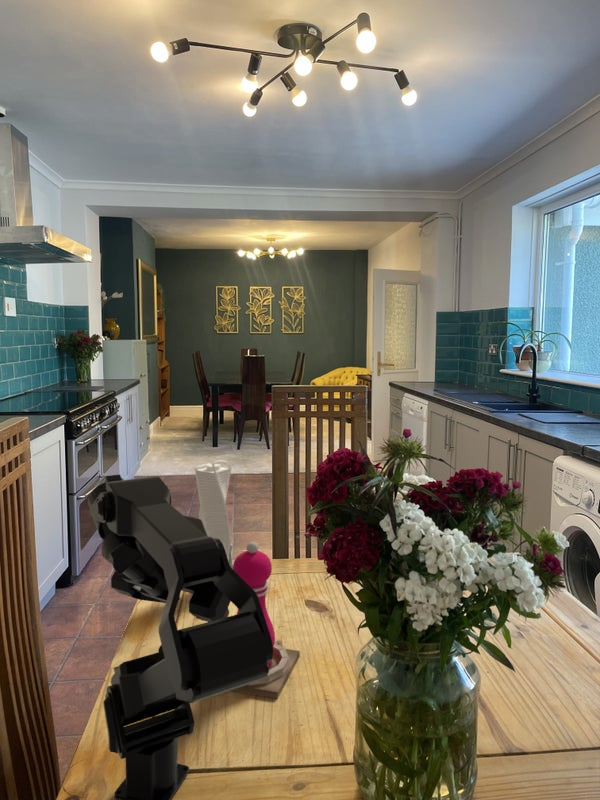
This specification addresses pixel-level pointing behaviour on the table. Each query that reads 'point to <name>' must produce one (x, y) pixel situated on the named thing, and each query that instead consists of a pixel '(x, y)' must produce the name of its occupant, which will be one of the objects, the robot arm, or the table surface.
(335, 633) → the table surface
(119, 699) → the robot arm
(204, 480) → the skyscraper
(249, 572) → the pepper mill
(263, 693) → the stand
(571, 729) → the table surface
